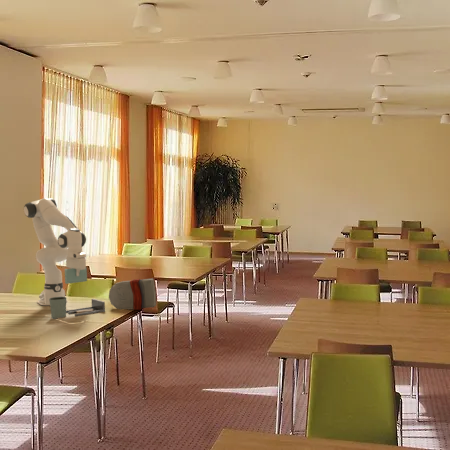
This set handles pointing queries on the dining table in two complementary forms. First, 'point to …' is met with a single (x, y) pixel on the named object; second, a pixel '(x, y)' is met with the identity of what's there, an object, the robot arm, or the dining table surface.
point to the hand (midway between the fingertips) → (75, 275)
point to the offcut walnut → (84, 311)
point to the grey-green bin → (58, 307)
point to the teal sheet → (75, 275)
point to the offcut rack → (96, 305)
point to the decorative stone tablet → (133, 294)
